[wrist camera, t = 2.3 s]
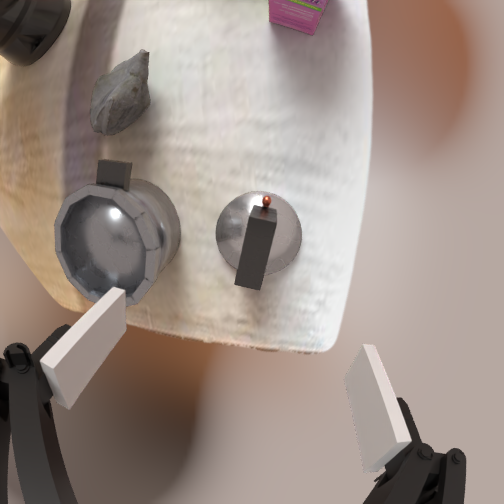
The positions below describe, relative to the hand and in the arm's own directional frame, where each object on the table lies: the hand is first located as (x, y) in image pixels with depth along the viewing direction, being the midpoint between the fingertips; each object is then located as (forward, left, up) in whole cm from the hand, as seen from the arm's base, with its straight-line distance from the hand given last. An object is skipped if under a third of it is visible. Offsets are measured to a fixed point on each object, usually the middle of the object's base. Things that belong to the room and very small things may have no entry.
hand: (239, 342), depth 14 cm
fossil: (-19, +14, -21) cm, 32 cm away
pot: (-16, -3, -21) cm, 26 cm away
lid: (0, 0, -21) cm, 21 cm away
